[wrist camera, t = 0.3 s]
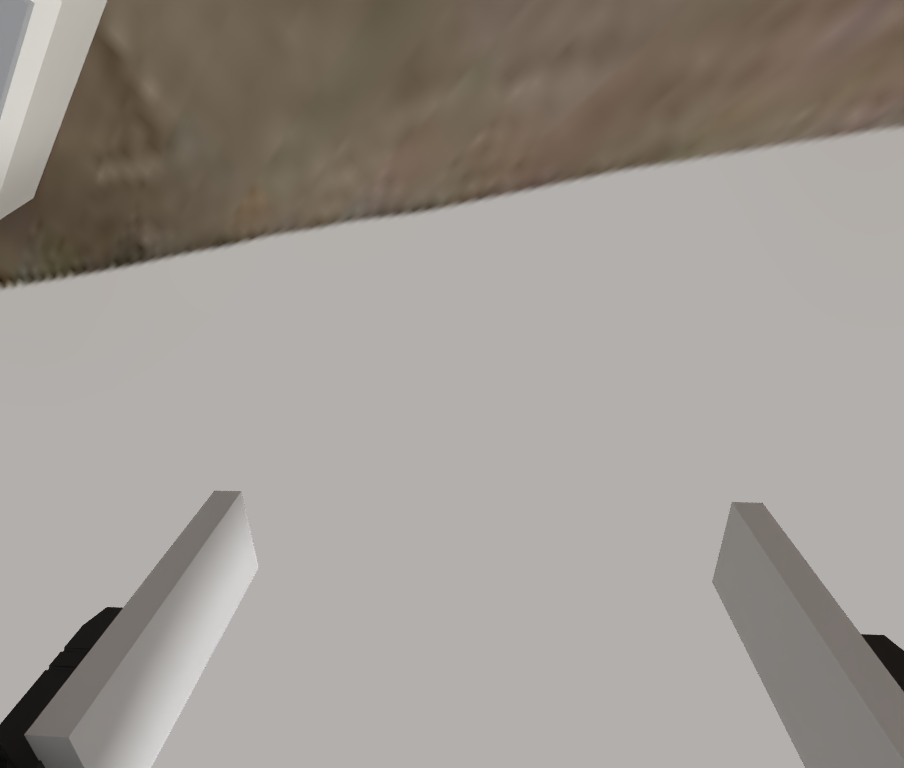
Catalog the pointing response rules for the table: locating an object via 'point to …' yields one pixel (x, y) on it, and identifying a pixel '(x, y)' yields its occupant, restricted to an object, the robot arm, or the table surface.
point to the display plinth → (37, 84)
